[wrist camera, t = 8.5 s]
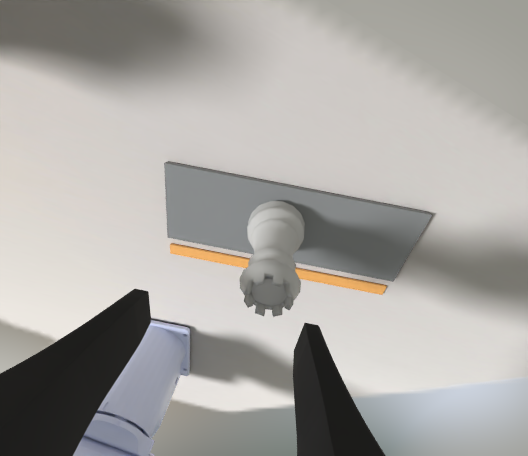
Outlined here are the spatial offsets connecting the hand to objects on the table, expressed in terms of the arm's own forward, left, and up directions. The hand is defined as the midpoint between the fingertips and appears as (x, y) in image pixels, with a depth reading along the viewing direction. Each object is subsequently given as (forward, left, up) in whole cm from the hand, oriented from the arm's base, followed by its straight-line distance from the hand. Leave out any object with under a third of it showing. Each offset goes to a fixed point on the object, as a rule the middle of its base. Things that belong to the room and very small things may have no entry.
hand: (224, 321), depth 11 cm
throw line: (-4, -3, -10) cm, 11 cm away
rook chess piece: (+1, -2, -10) cm, 10 cm away
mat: (+1, -3, -10) cm, 10 cm away
